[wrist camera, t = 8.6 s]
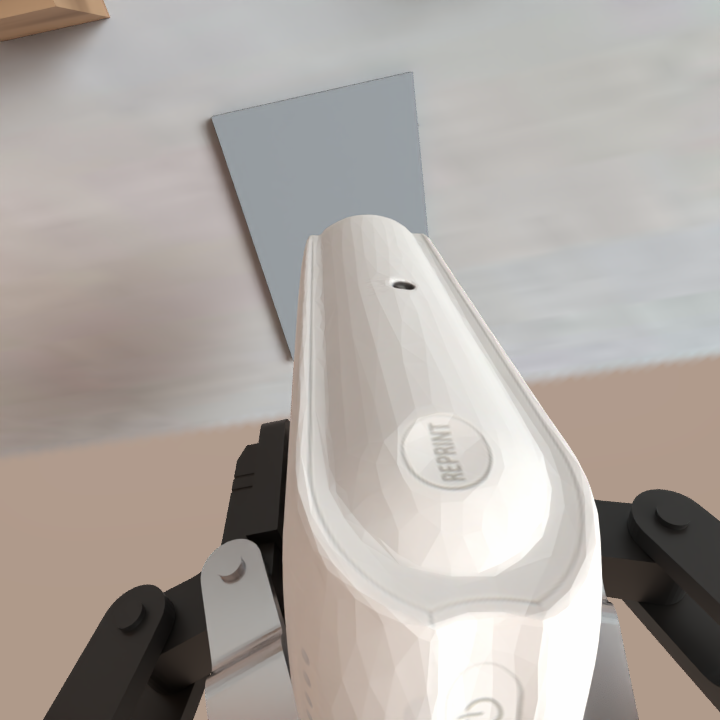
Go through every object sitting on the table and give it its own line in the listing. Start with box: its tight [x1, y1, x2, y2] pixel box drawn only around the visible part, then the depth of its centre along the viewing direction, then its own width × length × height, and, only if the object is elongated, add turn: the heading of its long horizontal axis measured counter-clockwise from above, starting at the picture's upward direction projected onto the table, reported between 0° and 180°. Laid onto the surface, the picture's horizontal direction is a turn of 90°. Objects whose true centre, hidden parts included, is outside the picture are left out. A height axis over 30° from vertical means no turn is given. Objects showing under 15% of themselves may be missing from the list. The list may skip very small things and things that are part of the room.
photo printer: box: [282, 215, 602, 720], centre depth 11 cm, size 10×4×12 cm, turn 0°
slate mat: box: [211, 72, 429, 362], centre depth 26 cm, size 15×10×1 cm, turn 11°
